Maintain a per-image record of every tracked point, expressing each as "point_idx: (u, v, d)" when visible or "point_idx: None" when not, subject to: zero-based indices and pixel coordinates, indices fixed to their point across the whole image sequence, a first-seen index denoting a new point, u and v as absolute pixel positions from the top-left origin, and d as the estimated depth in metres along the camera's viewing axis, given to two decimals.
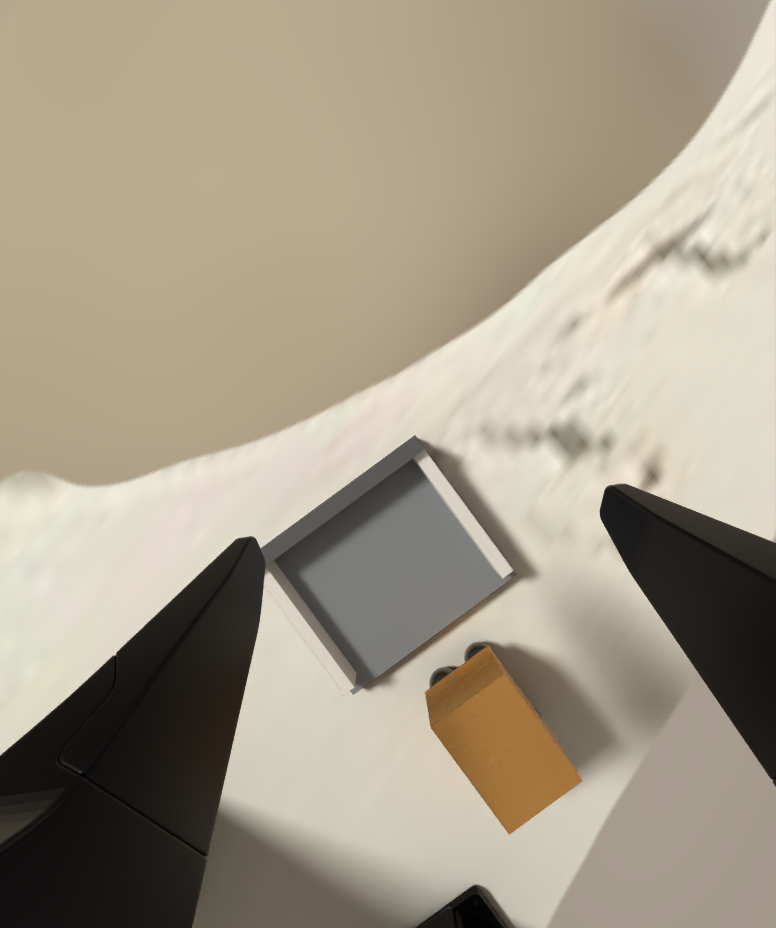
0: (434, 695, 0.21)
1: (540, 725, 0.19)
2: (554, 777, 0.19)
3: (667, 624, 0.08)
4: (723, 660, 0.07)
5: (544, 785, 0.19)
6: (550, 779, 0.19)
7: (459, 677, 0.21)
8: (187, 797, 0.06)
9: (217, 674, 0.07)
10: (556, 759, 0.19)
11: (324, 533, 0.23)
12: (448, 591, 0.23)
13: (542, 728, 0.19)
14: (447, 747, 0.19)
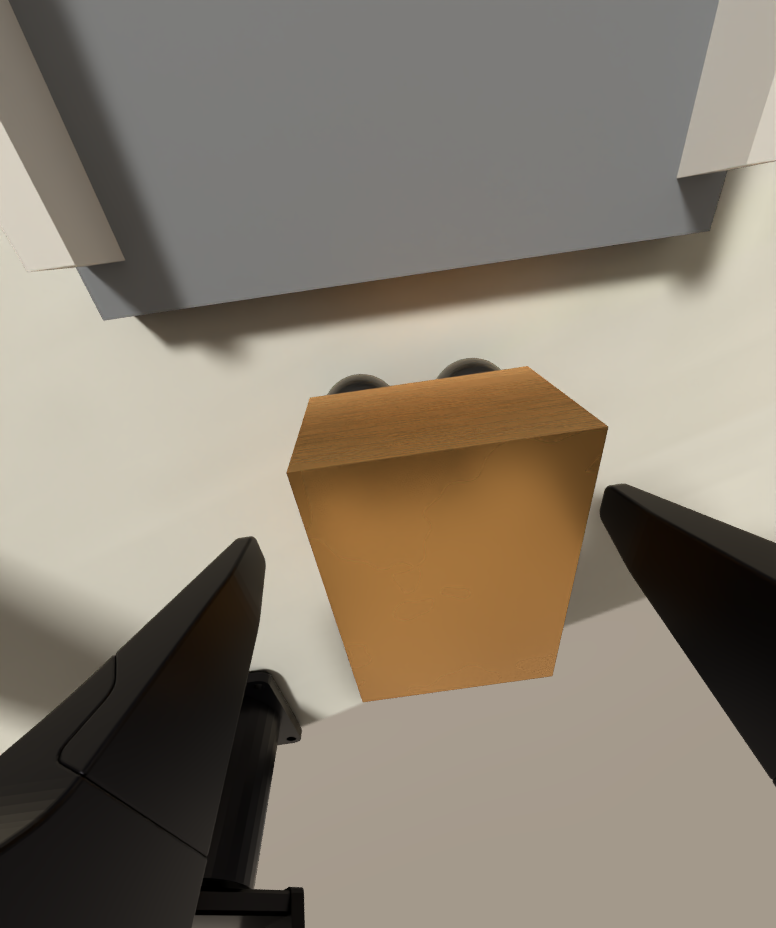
0: (333, 410, 0.07)
1: (571, 578, 0.07)
2: (512, 660, 0.08)
3: (667, 624, 0.08)
4: (723, 660, 0.07)
5: (483, 664, 0.08)
6: (502, 660, 0.08)
7: (424, 397, 0.07)
8: (187, 797, 0.06)
9: (217, 674, 0.07)
10: (543, 638, 0.08)
11: None
12: (518, 154, 0.07)
13: (570, 585, 0.07)
14: (314, 538, 0.06)
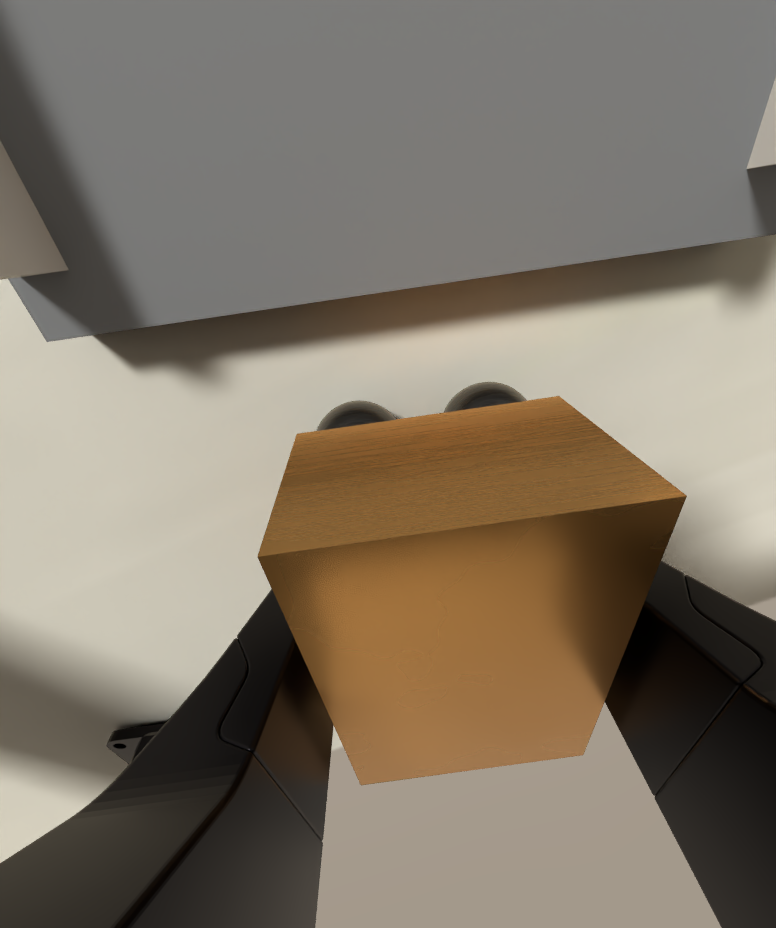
0: (324, 453, 0.06)
1: (617, 661, 0.06)
2: (537, 742, 0.07)
3: None
4: None
5: (504, 747, 0.07)
6: (525, 741, 0.07)
7: (436, 438, 0.06)
8: (310, 780, 0.06)
9: None
10: (576, 720, 0.07)
11: None
12: (554, 138, 0.05)
13: (614, 668, 0.06)
14: (297, 629, 0.05)
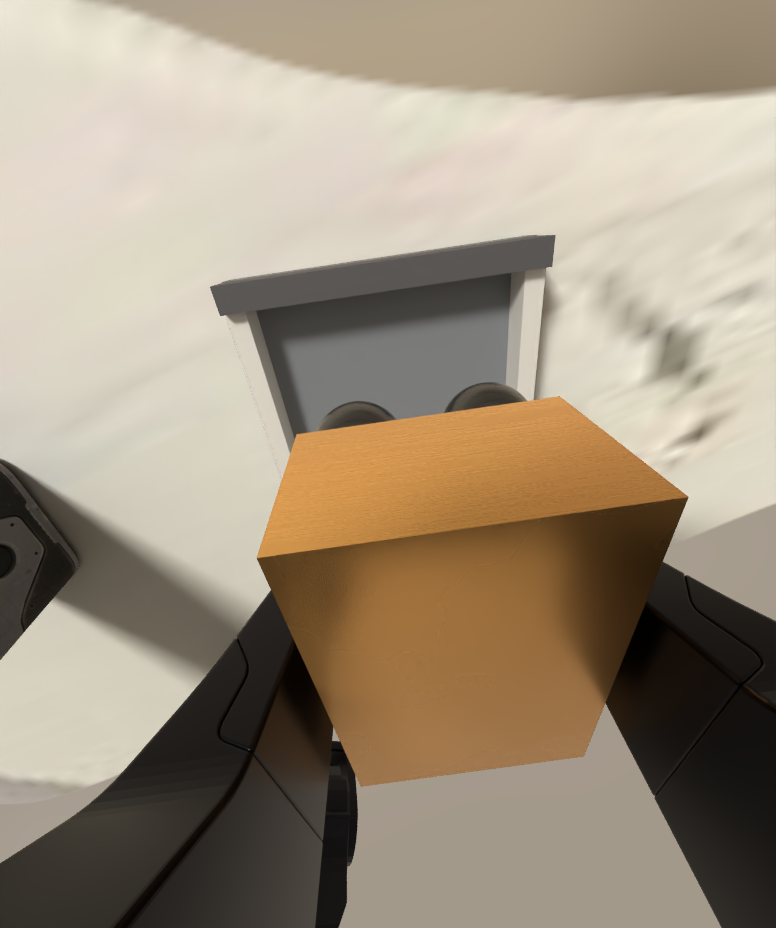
0: (324, 454, 0.06)
1: (618, 663, 0.06)
2: (538, 743, 0.07)
3: None
4: None
5: (504, 749, 0.07)
6: (526, 743, 0.07)
7: (436, 438, 0.06)
8: (310, 780, 0.06)
9: None
10: (577, 722, 0.07)
11: (341, 307, 0.16)
12: None
13: (615, 669, 0.06)
14: (296, 630, 0.05)
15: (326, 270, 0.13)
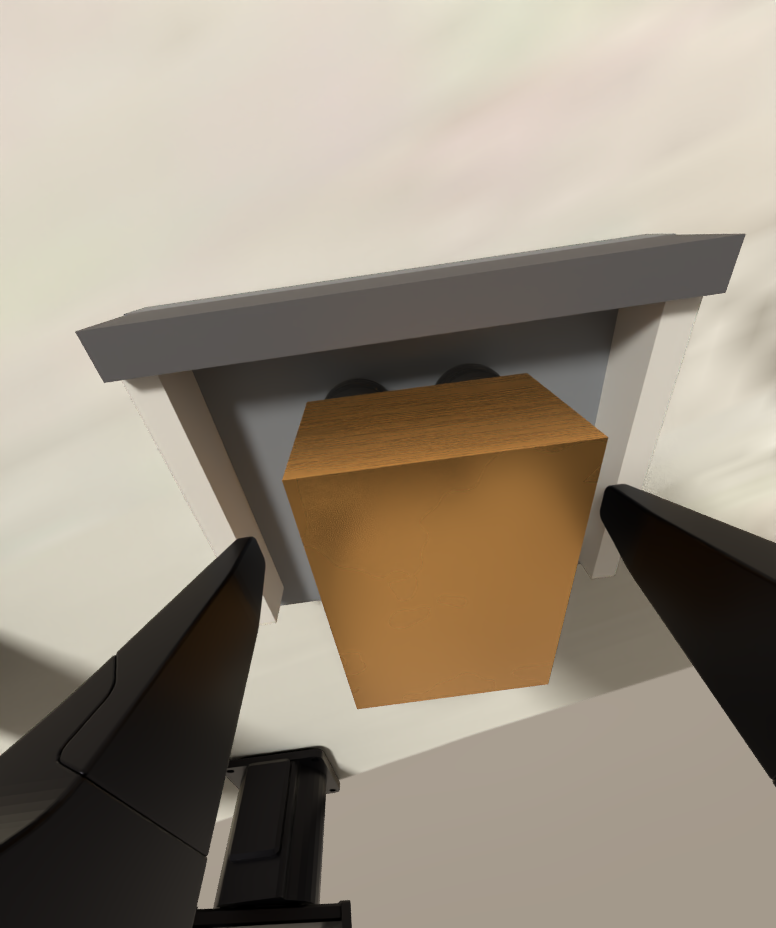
0: (330, 415, 0.07)
1: (568, 587, 0.07)
2: (508, 668, 0.08)
3: (667, 624, 0.08)
4: (723, 660, 0.07)
5: (479, 672, 0.08)
6: (497, 668, 0.08)
7: (423, 403, 0.07)
8: (187, 797, 0.06)
9: (217, 674, 0.07)
10: (539, 647, 0.08)
11: (332, 354, 0.09)
12: None
13: (567, 594, 0.07)
14: (309, 546, 0.06)
15: (300, 300, 0.07)
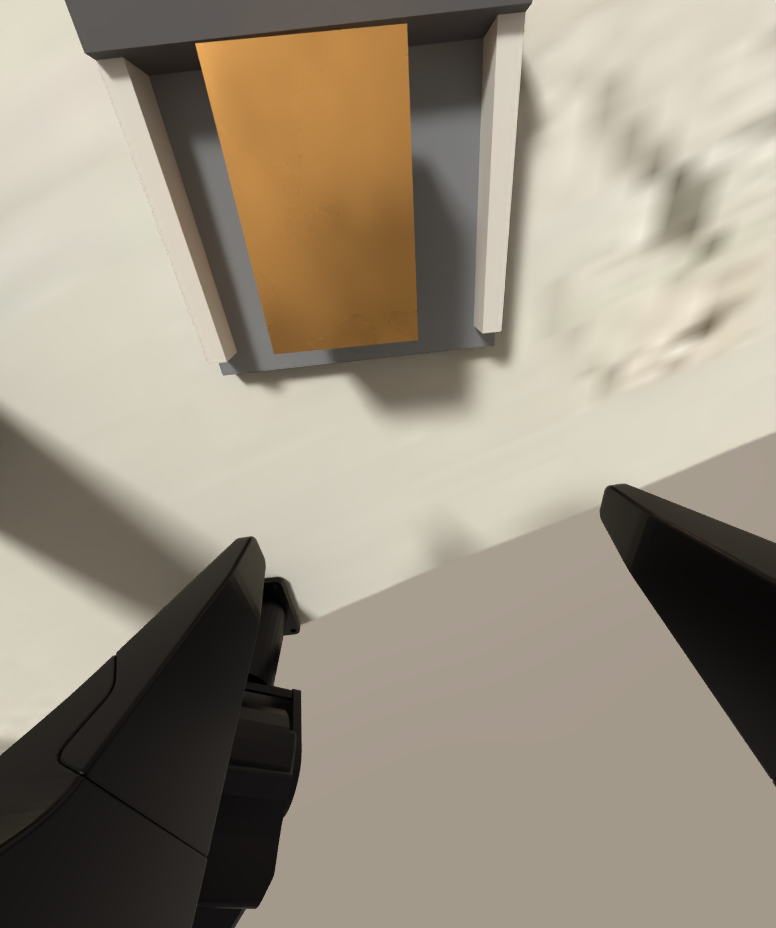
0: None
1: (411, 204, 0.10)
2: (382, 310, 0.11)
3: (667, 624, 0.08)
4: (723, 660, 0.07)
5: (361, 313, 0.11)
6: (375, 309, 0.11)
7: None
8: (187, 797, 0.06)
9: (217, 674, 0.07)
10: (403, 284, 0.11)
11: None
12: None
13: (411, 212, 0.10)
14: (219, 123, 0.09)
15: None
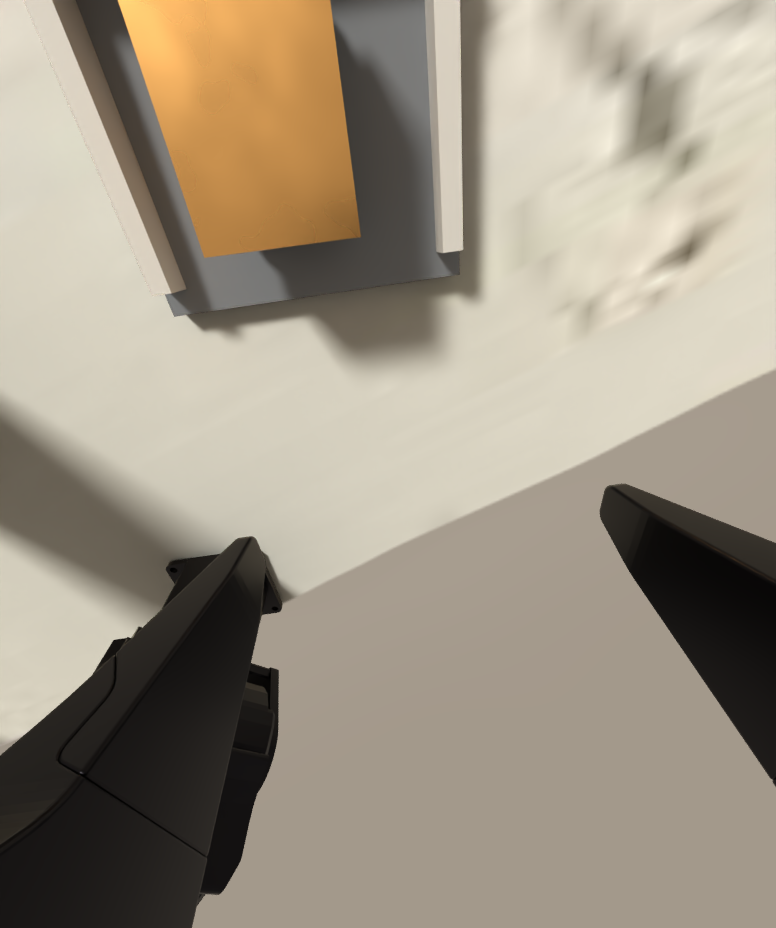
0: None
1: (336, 64, 0.09)
2: (318, 199, 0.10)
3: (667, 624, 0.08)
4: (723, 660, 0.07)
5: (295, 203, 0.10)
6: (309, 199, 0.10)
7: None
8: (187, 797, 0.06)
9: (217, 674, 0.07)
10: (337, 166, 0.10)
11: None
12: (361, 243, 0.15)
13: (337, 74, 0.09)
14: None
15: None
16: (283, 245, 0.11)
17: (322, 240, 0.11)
